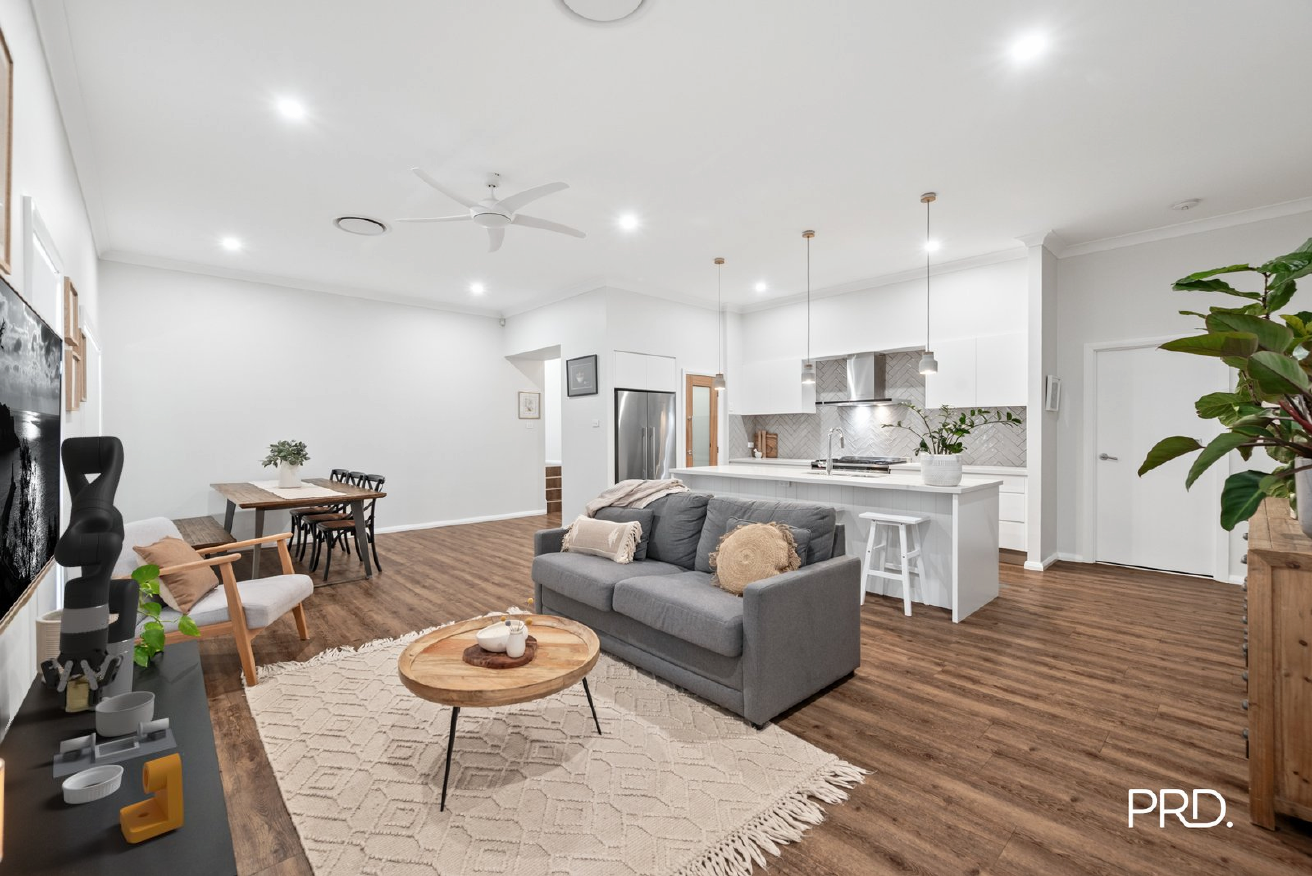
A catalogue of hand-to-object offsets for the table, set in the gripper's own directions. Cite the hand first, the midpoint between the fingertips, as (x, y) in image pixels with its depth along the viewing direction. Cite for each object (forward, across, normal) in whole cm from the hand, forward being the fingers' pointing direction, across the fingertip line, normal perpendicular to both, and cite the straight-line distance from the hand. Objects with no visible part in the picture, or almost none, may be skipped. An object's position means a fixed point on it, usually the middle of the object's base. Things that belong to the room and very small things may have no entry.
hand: (80, 706), depth 127 cm
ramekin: (+14, +9, -12) cm, 21 cm away
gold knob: (0, 0, 0) cm, 0 cm away
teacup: (+14, -2, +19) cm, 24 cm away
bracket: (+14, +25, -24) cm, 38 cm away
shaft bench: (+14, +4, +6) cm, 16 cm away
